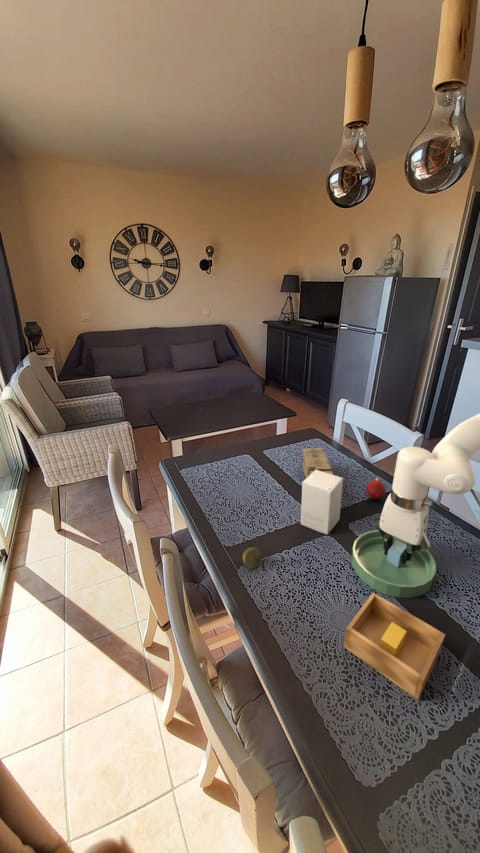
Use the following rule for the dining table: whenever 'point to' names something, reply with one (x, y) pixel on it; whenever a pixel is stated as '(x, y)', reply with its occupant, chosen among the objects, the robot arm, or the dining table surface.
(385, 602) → the holder
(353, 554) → the bowl
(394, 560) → the light blue block
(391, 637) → the yellow small block
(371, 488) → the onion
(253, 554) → the lime
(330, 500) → the white product box
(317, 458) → the block tower
